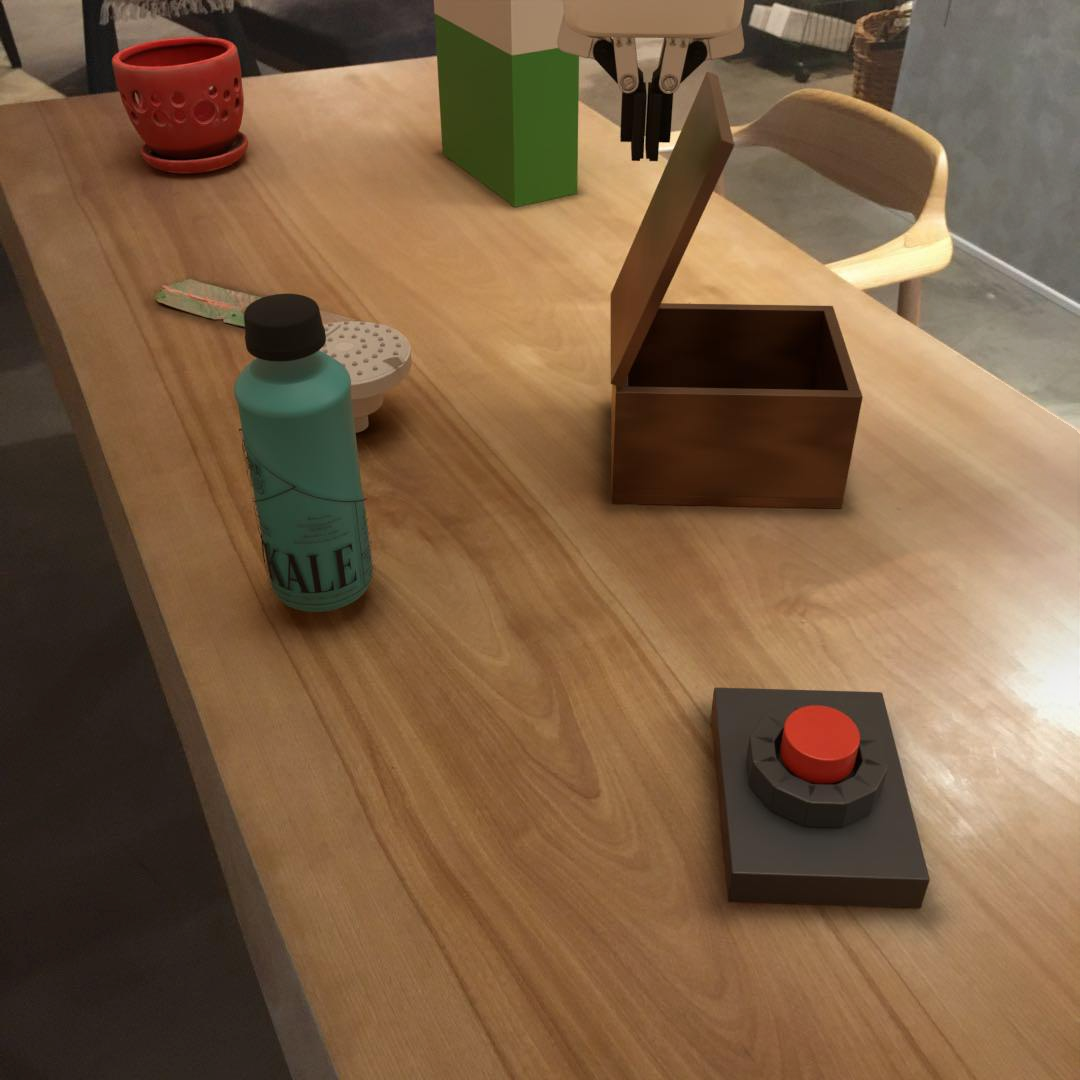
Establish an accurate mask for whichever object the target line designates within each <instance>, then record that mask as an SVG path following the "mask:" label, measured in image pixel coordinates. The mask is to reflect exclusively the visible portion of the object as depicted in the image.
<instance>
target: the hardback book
mask: <svg viewBox="0 0 1080 1080" xmlns="http://www.w3.org/2000/svg"><path fill="white" fill-rule="evenodd" d="M433 9H434V10H433V12H434V13H433V14H434V30H435V46H436V47H435V48H436V59H437V60H436V62H437V81H438V83H437V84H438V97H439V98H438V99H439V117H440V118H439V119H440V133H441V150H442V155H443V156H445V157H446V158H447V159H449V160H450V161H452V162H453V164H456V165H457V166H458V167H460V168H461V169H462V170H464V171H465V172H467V173H468V174H469V175H470V176H472V177H474V178H475V179H476V180H478V182H480V183H481V184H483V185H484V186H486V187H487V188H488V189H489V190H490V191H492V192H494V193H495V194H496V195H498V196H499V197H500V198H502V199H503V200H505V201H506V202H507V203H508V204H510V205H511V206H512V207H514V208H518V207H522V206H527V205H531V204H535V203H540V202H544V201H549V200H554V199H558V198H563V197H568V196H572V195H576V194H578V170H579V168H578V167H579V165H578V162H579V161H578V160H579V158H578V157H579V97H580V93H579V91H580V87H579V86H580V56H576V55H573V54H569V53H565V52H562V51H561V50H560V49H559V48H558V45H557V40H558V34H559V29H560V25H561V21H562V17H563V13H564V9H563V0H433Z"/></svg>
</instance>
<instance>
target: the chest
mask: <svg viewBox="0 0 1080 1080" xmlns="http://www.w3.org/2000/svg"><path fill="white" fill-rule="evenodd" d="M863 398H864V397H863V393H862V391H861V388H860V384H859V382H858V378H857V376H856V373H855V370H854V366H853V364H852V361H851V357H850V354H849V351H848V348H847V345H846V342H845V339H844V335H843V332H842V329H841V326H840V324H839V320H838V317H837V313H836V311H835V307H834V306H833V305H811V304H809V305H808V304H807V305H806V304H805V305H802V304H799V305H798V304H744V303H743V304H741V303H740V304H736V303H733V304H732V303H676V302H675V303H673V302H672V303H671V302H670V303H668V302H665V303H664V302H661V305H660V307H659V309H658V311H657V313H656V315H655V317H654V320H653V322H652V324H651V326H650V328H649V330H648V333H647V335H646V337H645V339H644V341H643V343H642V345H641V348H640V350H639V352H638V354H637V356H636V358H635V360H634V363H633V365H632V367H631V369H630V371H629V373H628V376H627V378H626V380H625V382H624V384H623V386H622V387H618V386H615V385H613V384H611V405H610V409H611V413H610V415H611V416H610V417H611V419H610V420H611V421H610V422H611V427H610V428H611V433H610V434H611V435H610V436H611V441H610V442H611V451H610V452H611V504H613V505H614V504H615V505H617V504H619V505H620V504H622V505H661V506H662V505H665V506H705V507H708V506H710V507H713V506H714V507H752V508H753V507H755V508H756V507H757V508H800V509H801V508H805V509H842V508H843V506H844V505H843V504H844V498H845V495H846V488H847V483H848V477H849V473H850V467H851V462H852V456H853V451H854V446H855V440H856V435H857V430H858V425H859V419H860V414H861V410H862V409H861V408H862V404H863Z"/></svg>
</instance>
